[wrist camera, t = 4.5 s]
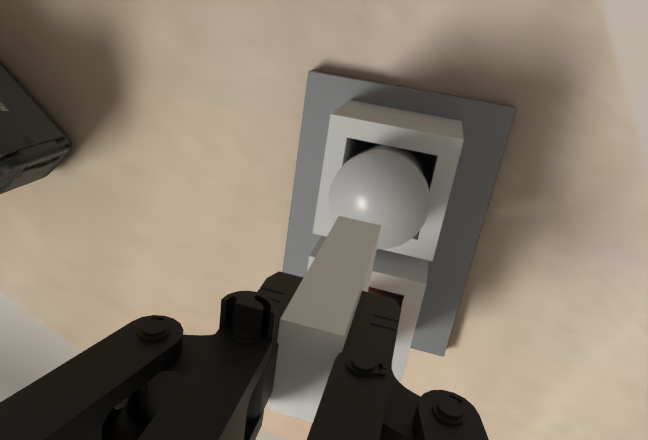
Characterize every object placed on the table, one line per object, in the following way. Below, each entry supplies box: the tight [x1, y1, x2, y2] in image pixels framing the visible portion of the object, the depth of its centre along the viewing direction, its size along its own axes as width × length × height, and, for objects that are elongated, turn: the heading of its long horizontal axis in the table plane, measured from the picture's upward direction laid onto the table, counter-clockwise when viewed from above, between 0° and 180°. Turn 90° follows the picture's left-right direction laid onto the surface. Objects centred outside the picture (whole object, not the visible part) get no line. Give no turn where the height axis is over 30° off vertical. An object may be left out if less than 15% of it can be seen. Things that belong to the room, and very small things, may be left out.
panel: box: [282, 70, 516, 381], centre depth 30 cm, size 17×12×6 cm
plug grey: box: [328, 142, 430, 249], centre depth 27 cm, size 5×5×6 cm
